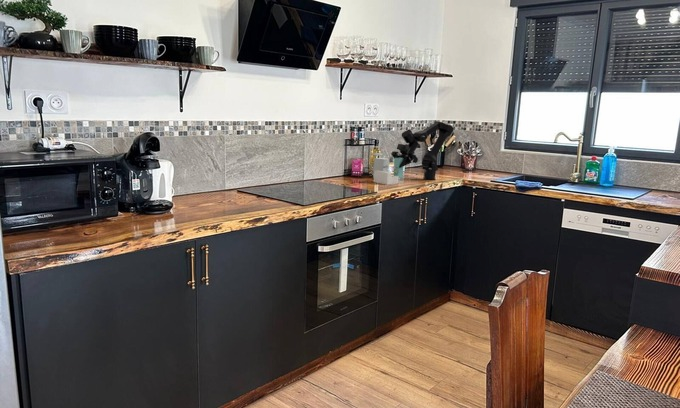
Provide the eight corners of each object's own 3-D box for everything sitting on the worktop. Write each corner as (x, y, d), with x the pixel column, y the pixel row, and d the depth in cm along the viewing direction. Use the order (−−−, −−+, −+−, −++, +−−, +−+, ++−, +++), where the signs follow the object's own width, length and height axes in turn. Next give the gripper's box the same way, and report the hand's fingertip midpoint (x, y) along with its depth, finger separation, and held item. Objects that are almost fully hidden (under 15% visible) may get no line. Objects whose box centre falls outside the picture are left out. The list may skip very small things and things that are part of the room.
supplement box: (382, 178, 324) (383, 159, 321) (372, 177, 328) (373, 158, 326) (388, 177, 330) (389, 158, 327) (378, 176, 334) (379, 157, 332)
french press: (373, 173, 350) (374, 137, 345) (388, 175, 343) (390, 138, 339) (365, 174, 342) (367, 137, 337) (380, 176, 335) (382, 138, 331)
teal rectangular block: (398, 177, 314) (399, 157, 312) (402, 177, 311) (403, 158, 308) (391, 177, 310) (392, 158, 308) (396, 178, 307) (397, 158, 305)
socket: (385, 181, 313) (386, 169, 312) (399, 183, 304) (400, 172, 303) (373, 182, 307) (374, 170, 306) (387, 184, 298) (387, 172, 297)
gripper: (394, 138, 316) (380, 156, 312) (415, 140, 302) (401, 159, 297) (402, 150, 323) (388, 168, 318) (424, 153, 308) (410, 172, 303)
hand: (396, 167), depth 309 cm, fingers closed on teal rectangular block, 4 cm apart
